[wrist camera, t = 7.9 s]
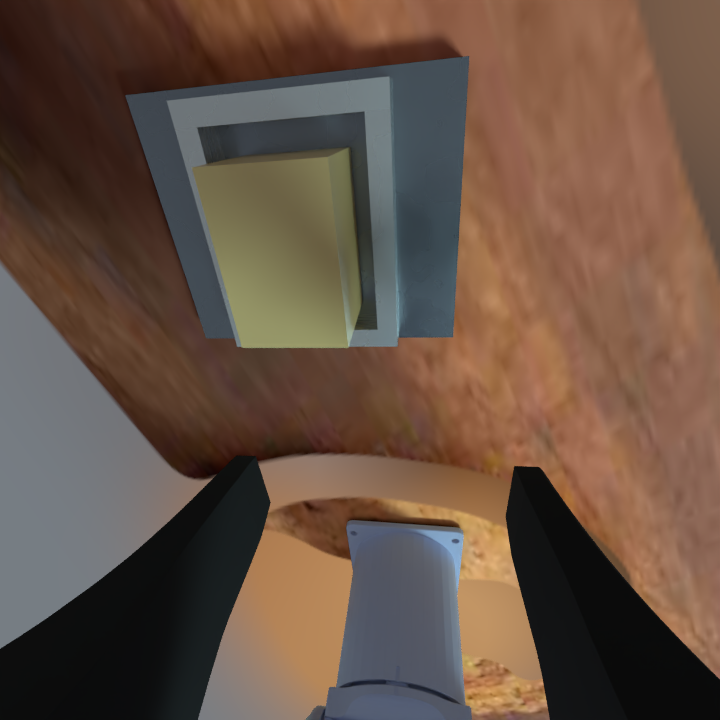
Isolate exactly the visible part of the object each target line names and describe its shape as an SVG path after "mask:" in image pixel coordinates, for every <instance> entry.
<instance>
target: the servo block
mask: <svg viewBox="0 0 720 720" xmlns="http://www.w3.org/2000/svg"><path fill="white" fill-rule="evenodd" d="M192 170H193V174H194V178H195V181H196V185H197V188H198V192H199V196H200V199H201V203H202V206H203V210H204V213H205V217H206V221H207V224H208V228H209V231H210V235H211V239H212V242H213V246H214V249H215V253H216V256H217V260H218V264H219V267H220V271H221V274H222V278H223V281H224V285H225V289H226V292H227V296H228V299H229V303H230V307H231V310H232V314H233V317H234V321H235V324H236V328H237V332H238V335H239V339H240V342H241V346H242V348H348V347H349V344H350V341H351V338H352V334H353V331H354V328H355V325H356V321H357V318H358V315H359V312H360V309H361V305H362V302H363V301H362V288H361V275H360V263H359V250H358V237H357V224H356V212H355V199H354V186H353V174H352V161H351V148H350V147H342V148H329V149H317V150H304V151H292V152H280V153H267V154H255V155H244V156H240V157H235V158H231V159H227V160H222V161H218V162H213V163H209V164H205V165H200V166H196V167H192Z"/></svg>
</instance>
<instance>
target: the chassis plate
mask: <svg viewBox="0 0 720 720" xmlns="http://www.w3.org/2000/svg"><path fill="white" fill-rule="evenodd" d="M468 68H469V56H466V57H457V58H449V59H440V60H431V61H422V62H413V63H405V64H396V65H387V66H378V67H369V68H361V69H352V70H343V71H334V72H326V73H317V74H308V75H299V76H290V77H282V78H273V79H264V80H255V81H247V82H238V83H229V84H220V85H211V86H203V87H194V88H185V89H176V90H167V91H159V92H150V93H141V94H132V95H125V96H126V99H127V102H128V105H129V108H130V111H131V114H132V117H133V120H134V123H135V126H136V129H137V132H138V135H139V138H140V141H141V144H142V147H143V150H144V153H145V156H146V159H147V162H148V165H149V168H150V171H151V174H152V177H153V180H154V183H155V186H156V189H157V192H158V195H159V198H160V201H161V204H162V207H163V210H164V213H165V216H166V219H167V222H168V225H169V228H170V231H171V234H172V237H173V240H174V243H175V246H176V249H177V252H178V255H179V258H180V261H181V264H182V267H183V270H184V273H185V276H186V279H187V282H188V285H189V288H190V291H191V294H192V297H193V300H194V303H195V306H196V309H197V312H198V315H199V318H200V321H201V324H202V327H203V330H204V333H205V336H206V338H235V340H236V344H237V347H242V346H241V342H240V339H239V335H238V332H237V328H236V324H235V321H234V317H233V314H232V310H231V307H230V303H229V299H228V296H227V292H226V289H225V285H224V281H223V278H222V274H221V271H220V267H219V264H218V260H217V256H216V253H215V249H214V246H213V242H212V239H211V235H210V231H209V228H208V224H207V221H206V217H205V213H204V210H203V206H202V203H201V199H200V196H199V192H198V188H197V185H196V181H195V178H194V174H193V170H192V167H196V166H200V165H205V164H209V163H213V162H218V161H222V160H227V159H231V158H235V157H240V156H244V155H255V154H267V153H280V152H292V151H304V150H317V149H329V148H342V147H350V148H351V161H352V174H353V186H354V199H355V212H356V224H357V237H358V250H359V263H360V275H361V288H362V301H363V302H362V305H361V309H360V312H359V315H358V318H357V321H356V325H355V328H354V331H353V334H352V338H351V341H350V344H349V346H398V337H453V327H454V309H455V292H456V275H457V258H458V240H459V223H460V206H461V189H462V171H463V154H464V137H465V120H466V103H467V85H468Z"/></svg>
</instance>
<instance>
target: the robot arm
mask: <svg viewBox="0 0 720 720" xmlns="http://www.w3.org/2000/svg"><path fill="white" fill-rule="evenodd" d="M269 506H270V500H269V496H268V493H267V490H266V487H265V484H264V480H263V477H262V474H261V471H260V468H259V465H258V462H257V459H256V456H236V457H234V458H233V459H232V460H231V461H230V462H229V463H228V464H227V465H226V466H225V467H224V468H223V469H222V470H221V471H220V472H219V473H218V474H217V475H216V476H215V477H214V478H213V479H212V480H211V481H210V482H209V483H208V484H207V485H206V486H205V487H204V488H203V489H202V490H201V491H200V492H199V493H198V494H197V495H196V496H195V497H194V498H193V499H192V500H191V501H190V502H189V503H188V504H187V505H186V506H185V507H184V508H183V509H182V510H181V511H180V512H178V514H176V515H175V516H174V517H173V518H172V519H171V520H170V521H169V522H168V523H167V524H166V525H165V526H164V527H162V528H161V529H160V530H159V531H158V532H157V533H156V534H155V535H154V536H152V537H151V538H150V539H149V540H148V541H147V542H146V543H145V544H143V545H142V546H141V547H140V548H139V549H138V550H136V551H135V552H134V553H133V554H132V555H131V556H129V557H128V558H127V559H126V560H124V562H122V563H121V564H120V565H118V566H117V567H116V568H114V569H113V570H112V571H111V572H109V573H108V574H107V575H106V576H104V577H103V578H102V579H101V580H99V581H98V582H97V583H95V584H94V585H93V586H91V587H90V588H89V589H87V590H86V591H84V592H83V593H82V594H80V595H79V596H77V597H76V598H75V599H73V600H72V601H70V602H69V603H68V604H66V605H65V606H63V607H62V608H61V609H60V610H58V611H57V612H55V613H54V614H52V615H51V616H50V617H48V618H47V619H45V620H44V621H42V622H41V623H39V624H38V625H36V626H35V627H33V628H32V629H30V630H29V631H27V632H26V633H24V634H23V635H21V636H20V637H18V638H17V639H15V640H13V641H12V642H10V643H9V644H7V645H6V646H4V647H2V648H1V649H0V720H198V717H199V713H200V710H201V706H202V703H203V699H204V696H205V692H206V689H207V685H208V682H209V678H210V675H211V671H212V668H213V665H214V662H215V658H216V655H217V652H218V649H219V645H220V642H221V639H222V635H223V633H224V630H225V627H226V625H227V622H228V619H229V616H230V614H231V612H232V609H233V607H234V604H235V601H236V599H237V597H238V594H239V592H240V589H241V587H242V584H243V582H244V579H245V577H246V574H247V572H248V569H249V567H250V564H251V562H252V559H253V557H254V554H255V552H256V549H257V546H258V544H259V541H260V539H261V536H262V532H263V529H264V525H265V522H266V518H267V514H268V510H269ZM506 522H507V529H508V536H509V542H510V548H511V555H512V559H513V563H514V567H515V571H516V575H517V578H518V582H519V586H520V590H521V594H522V597H523V601H524V605H525V609H526V613H527V616H528V620H529V624H530V628H531V632H532V635H533V639H534V643H535V647H536V650H537V654H538V659H539V663H540V668H541V672H542V677H543V683H544V689H545V694H546V700H547V705H548V711H549V717H550V720H720V679H719V678H718V677H717V676H716V675H715V674H714V673H713V672H712V671H711V670H710V669H709V668H708V667H707V666H706V665H705V664H704V663H703V662H702V661H701V660H700V659H699V658H698V657H697V656H696V655H695V654H694V653H693V652H692V651H691V650H690V649H689V648H688V647H687V646H686V645H685V644H684V643H683V642H682V641H681V640H680V639H679V638H678V637H677V636H676V635H675V634H674V633H673V632H672V631H671V630H670V629H669V627H668V626H667V625H666V624H665V623H664V622H663V621H662V620H661V619H660V618H659V617H658V616H657V615H656V614H655V613H654V611H653V610H652V609H651V608H650V607H649V606H648V605H647V604H646V603H645V602H644V600H643V599H642V598H641V597H640V596H639V595H638V594H637V593H636V591H635V590H634V589H633V588H632V587H631V586H630V584H629V583H628V582H627V581H626V580H625V579H624V577H622V575H621V574H620V573H619V572H618V570H617V569H616V568H615V567H614V566H613V564H612V563H611V562H610V561H609V560H608V558H606V556H605V555H604V554H603V552H602V551H601V550H600V548H599V547H598V546H597V545H596V543H595V542H594V541H593V539H592V538H591V537H590V536H589V534H588V533H587V532H586V531H585V529H584V528H583V527H582V525H581V524H580V523H579V521H578V520H577V519H576V517H575V516H574V515H573V513H572V512H571V511H570V509H569V508H568V506H567V505H566V504H565V502H564V501H563V499H562V498H561V497H560V495H559V494H558V492H557V491H556V489H555V488H554V487H553V485H552V484H551V482H550V481H549V479H548V478H547V476H546V475H545V473H544V472H543V470H542V469H541V468H540V467H523V466H514V471H513V477H512V483H511V489H510V495H509V500H508V506H507V512H506ZM346 530H347V536H348V542H349V549H350V555H351V561H352V567H353V577H352V583H351V590H350V597H349V604H348V611H347V617H346V624H345V631H344V638H343V645H342V651H341V659H340V665H339V672H338V679H337V685H336V687H330V688H329V691H328V697H327V703H326V706H317V707H316V708H314V710H313V711H312V713H311V714H310V715H309V716H308V717H307V718H306V720H472V716H471V708H470V706H466V705H465V693H464V680H463V667H462V653H461V642H460V641H461V640H460V627H459V614H458V601H457V592H458V583H459V574H460V565H461V556H462V547H463V538H464V536H463V531H462V529H460V528H457V527H444V526H430V525H416V524H402V523H387V522H373V521H359V520H350V521H348V522H347V526H346Z"/></svg>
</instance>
